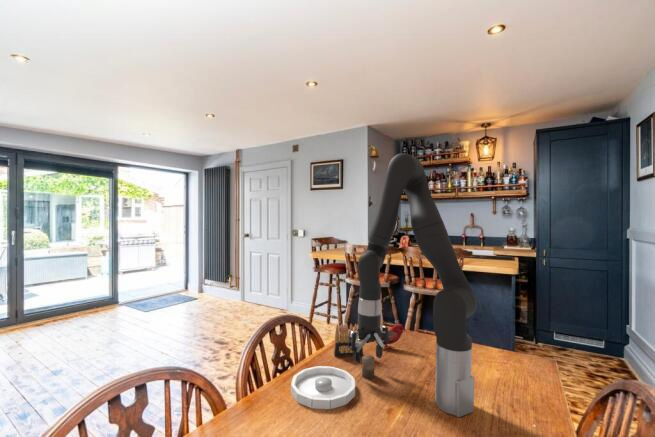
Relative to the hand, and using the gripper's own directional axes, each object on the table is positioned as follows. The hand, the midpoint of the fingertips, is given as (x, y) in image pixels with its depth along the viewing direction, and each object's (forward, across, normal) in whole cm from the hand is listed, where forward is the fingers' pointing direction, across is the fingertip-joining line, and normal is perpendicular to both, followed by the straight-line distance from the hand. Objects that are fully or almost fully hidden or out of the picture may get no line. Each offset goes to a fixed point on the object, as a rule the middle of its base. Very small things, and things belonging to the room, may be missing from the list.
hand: (368, 359), depth 106 cm
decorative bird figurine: (+6, +18, +16) cm, 24 cm away
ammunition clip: (+6, +2, +15) cm, 16 cm away
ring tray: (+5, -17, -2) cm, 18 cm away
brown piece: (+5, 0, -1) cm, 5 cm away
